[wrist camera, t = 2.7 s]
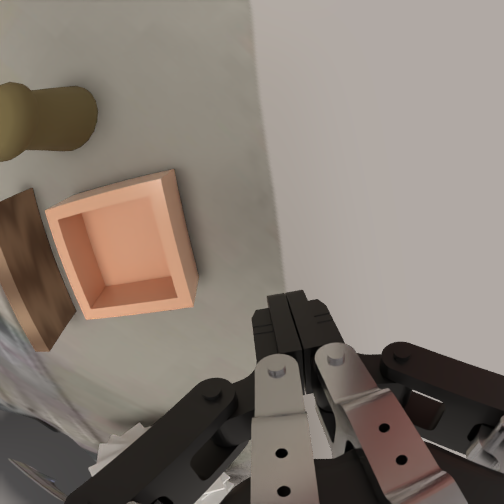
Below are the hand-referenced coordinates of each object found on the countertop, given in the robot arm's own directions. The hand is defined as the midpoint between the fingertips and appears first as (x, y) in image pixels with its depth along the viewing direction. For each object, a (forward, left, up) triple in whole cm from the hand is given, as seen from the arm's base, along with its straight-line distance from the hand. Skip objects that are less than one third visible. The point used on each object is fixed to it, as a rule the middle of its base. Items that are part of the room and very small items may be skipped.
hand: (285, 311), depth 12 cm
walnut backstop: (0, -22, -15) cm, 26 cm away
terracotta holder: (0, -11, -14) cm, 18 cm away
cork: (-12, -15, -15) cm, 24 cm away
